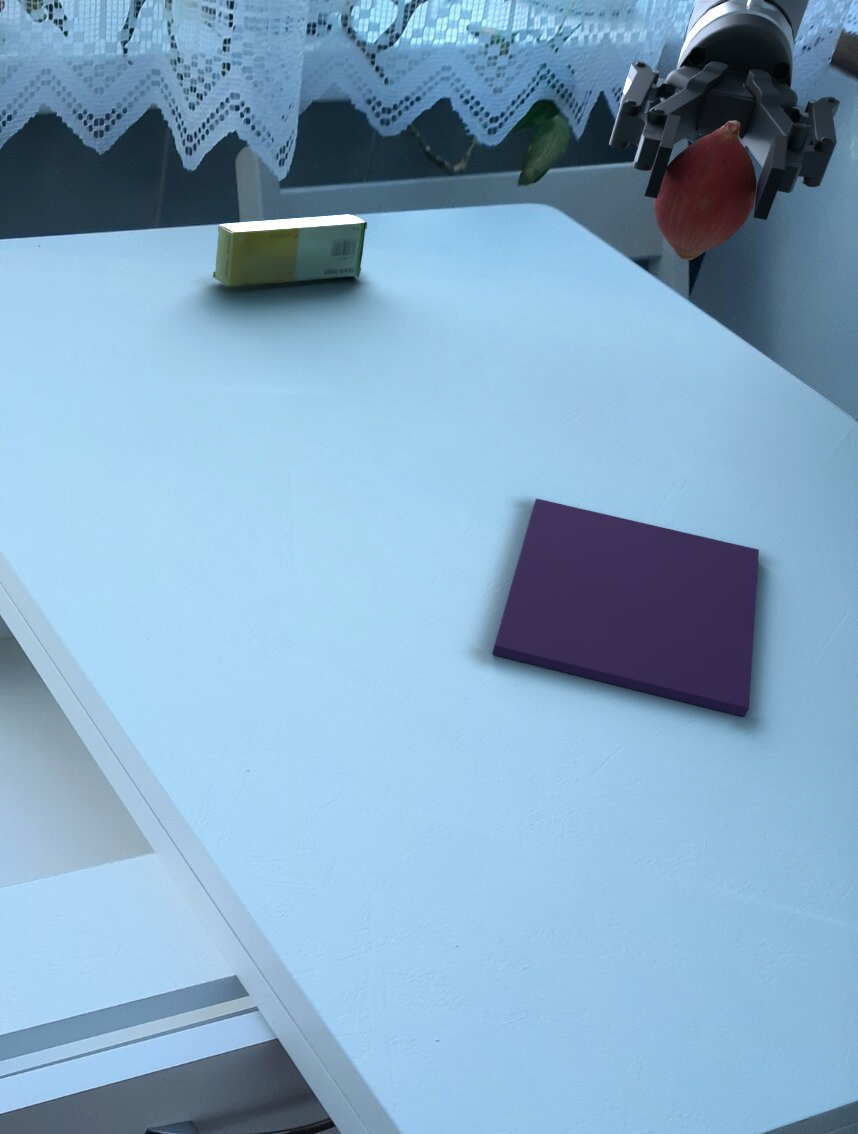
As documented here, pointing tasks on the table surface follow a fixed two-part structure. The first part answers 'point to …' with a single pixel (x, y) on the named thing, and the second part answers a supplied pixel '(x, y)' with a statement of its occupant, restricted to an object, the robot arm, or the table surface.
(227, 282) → the medication box
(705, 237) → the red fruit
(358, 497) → the table surface
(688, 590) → the mat
